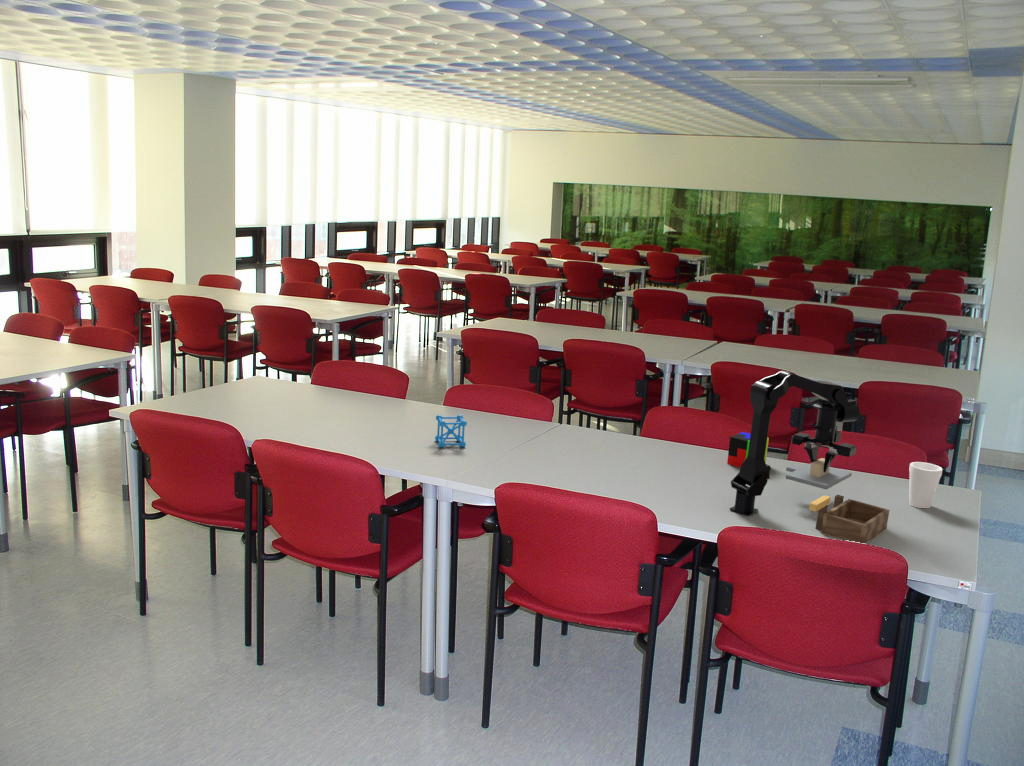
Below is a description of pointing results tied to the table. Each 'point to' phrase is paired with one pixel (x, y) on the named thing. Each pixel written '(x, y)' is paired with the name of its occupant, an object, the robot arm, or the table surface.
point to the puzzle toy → (740, 449)
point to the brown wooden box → (852, 520)
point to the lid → (817, 474)
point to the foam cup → (923, 483)
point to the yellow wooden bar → (819, 503)
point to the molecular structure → (450, 431)
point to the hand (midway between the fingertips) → (819, 470)
